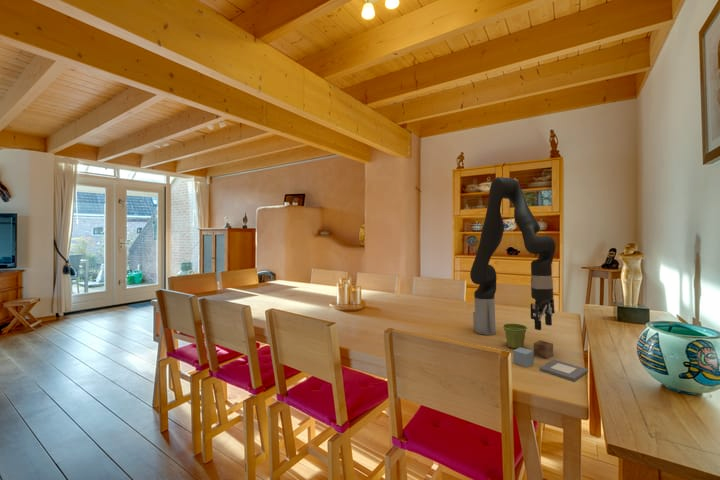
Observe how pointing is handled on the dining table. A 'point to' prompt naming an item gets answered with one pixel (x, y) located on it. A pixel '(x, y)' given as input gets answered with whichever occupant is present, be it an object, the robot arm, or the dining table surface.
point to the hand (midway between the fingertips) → (543, 327)
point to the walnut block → (543, 349)
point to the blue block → (523, 357)
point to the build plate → (564, 370)
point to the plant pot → (515, 335)
